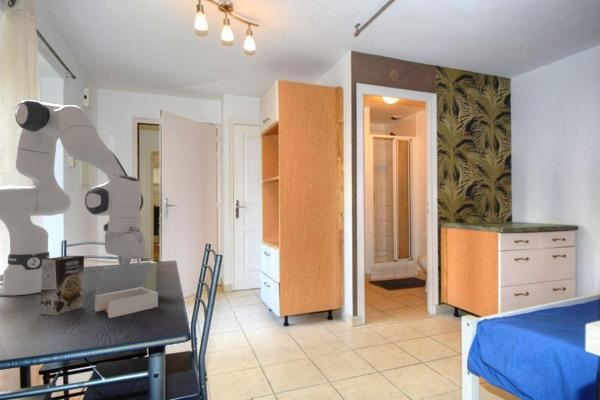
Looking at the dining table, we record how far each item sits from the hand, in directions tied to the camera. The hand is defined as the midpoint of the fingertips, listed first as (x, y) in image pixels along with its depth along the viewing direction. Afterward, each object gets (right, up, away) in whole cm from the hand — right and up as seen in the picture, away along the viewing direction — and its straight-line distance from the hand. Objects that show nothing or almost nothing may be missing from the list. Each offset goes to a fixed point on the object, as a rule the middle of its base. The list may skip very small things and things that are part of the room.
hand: (124, 270), depth 104 cm
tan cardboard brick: (0, -12, -3) cm, 12 cm away
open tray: (+2, -11, -2) cm, 12 cm away
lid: (0, -2, 0) cm, 3 cm away
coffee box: (-17, -12, -4) cm, 21 cm away
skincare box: (+2, -12, +12) cm, 17 cm away
